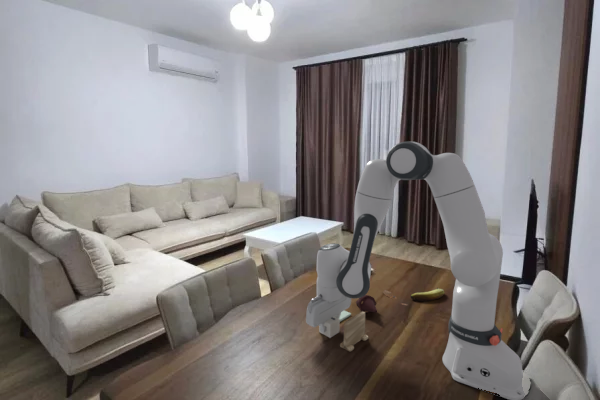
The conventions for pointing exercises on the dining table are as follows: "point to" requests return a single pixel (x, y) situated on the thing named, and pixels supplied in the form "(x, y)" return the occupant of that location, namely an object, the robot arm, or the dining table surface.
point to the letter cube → (331, 327)
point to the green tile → (344, 315)
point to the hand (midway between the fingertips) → (329, 327)
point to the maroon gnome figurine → (367, 304)
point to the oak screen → (354, 331)
